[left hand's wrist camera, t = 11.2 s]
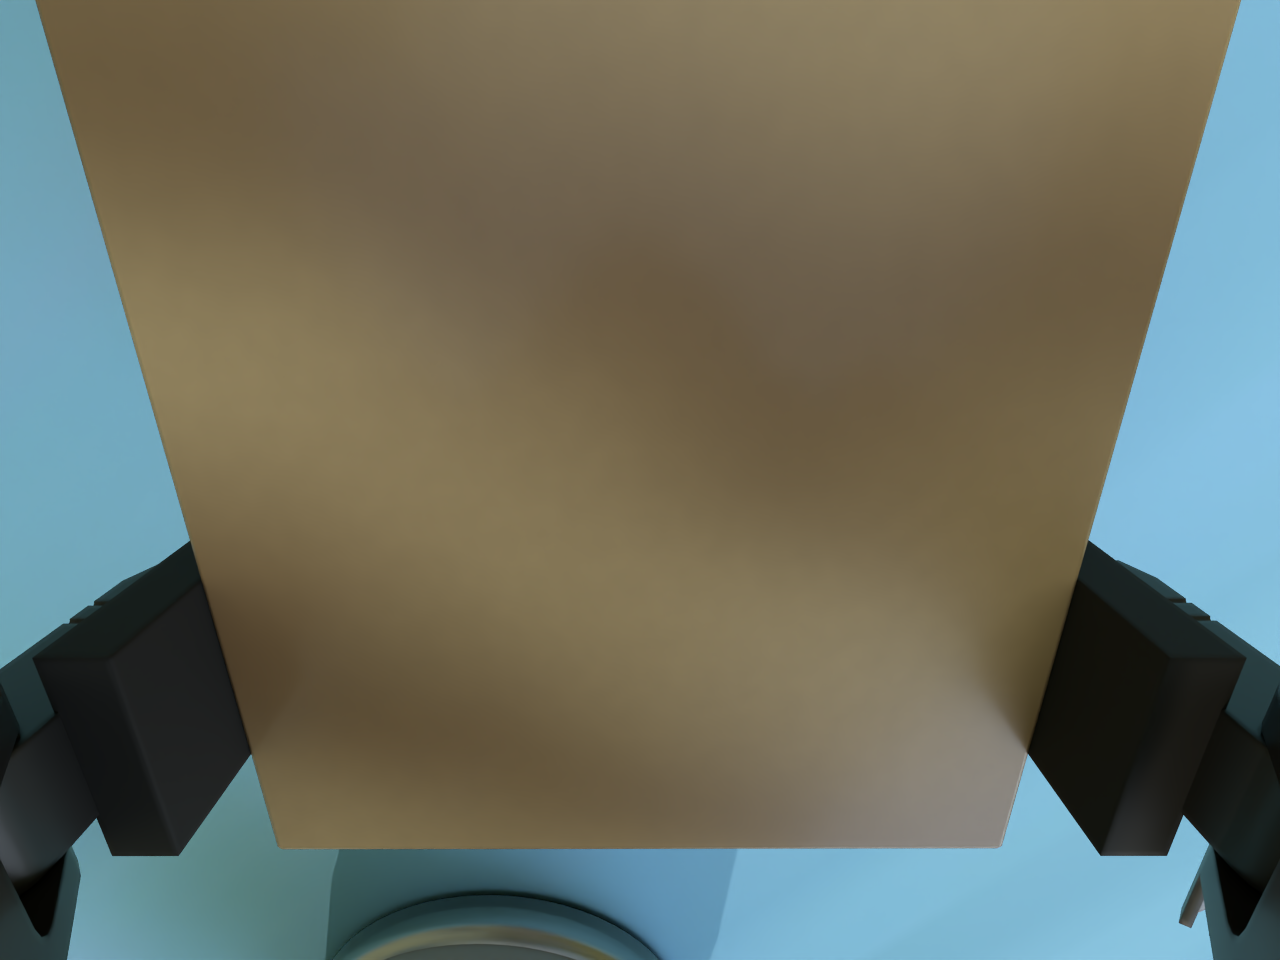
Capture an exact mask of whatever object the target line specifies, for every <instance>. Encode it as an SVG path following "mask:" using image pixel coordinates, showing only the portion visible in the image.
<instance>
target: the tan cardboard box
mask: <svg viewBox="0 0 1280 960" xmlns="http://www.w3.org/2000/svg"><path fill="white" fill-rule="evenodd" d="M1240 2H1241V0H36V4H37V7H38V11H39V14H40V18H41V21H42V25H43V28H44V32H45V35H46V39H47V42H48V46H49V49H50V53H51V56H52V60H53V63H54V67H55V70H56V74H57V77H58V81H59V84H60V88H61V91H62V95H63V98H64V102H65V105H66V109H67V112H68V116H69V119H70V123H71V126H72V130H73V133H74V137H75V140H76V144H77V147H78V151H79V154H80V158H81V161H82V165H83V168H84V172H85V175H86V178H87V182H88V185H89V189H90V192H91V196H92V199H93V203H94V206H95V210H96V213H97V217H98V220H99V224H100V227H101V231H102V234H103V238H104V241H105V245H106V248H107V252H108V255H109V259H110V262H111V266H112V269H113V273H114V276H115V280H116V283H117V287H118V290H119V294H120V297H121V301H122V304H123V308H124V311H125V315H126V318H127V322H128V325H129V329H130V332H131V336H132V339H133V343H134V346H135V350H136V353H137V357H138V360H139V364H140V367H141V371H142V374H143V377H144V381H145V384H146V388H147V391H148V395H149V398H150V402H151V405H152V409H153V412H154V416H155V419H156V423H157V426H158V430H159V433H160V437H161V440H162V444H163V447H164V451H165V454H166V458H167V461H168V465H169V468H170V472H171V475H172V479H173V482H174V486H175V489H176V493H177V496H178V500H179V503H180V507H181V510H182V514H183V517H184V521H185V524H186V528H187V531H188V535H189V538H190V542H191V545H192V549H193V552H194V556H195V559H196V563H197V566H198V570H199V573H200V576H201V580H202V583H203V587H204V590H205V594H206V597H207V601H208V604H209V608H210V611H211V615H212V618H213V622H214V625H215V629H216V632H217V636H218V639H219V643H220V646H221V650H222V653H223V657H224V660H225V664H226V667H227V671H228V674H229V678H230V681H231V685H232V688H233V692H234V695H235V699H236V702H237V706H238V709H239V713H240V716H241V720H242V723H243V727H244V730H245V734H246V737H247V741H248V744H249V748H250V751H251V755H252V758H253V762H254V765H255V769H256V772H257V775H258V779H259V782H260V786H261V789H262V793H263V796H264V800H265V803H266V807H267V810H268V814H269V817H270V821H271V824H272V828H273V831H274V835H275V838H276V842H277V845H278V847H279V848H281V849H771V848H999V847H1001V846H1002V843H1003V839H1004V836H1005V832H1006V829H1007V825H1008V822H1009V818H1010V815H1011V811H1012V808H1013V804H1014V801H1015V797H1016V793H1017V790H1018V786H1019V783H1020V779H1021V776H1022V772H1023V769H1024V765H1025V762H1026V758H1027V755H1028V751H1029V748H1030V744H1031V740H1032V737H1033V733H1034V730H1035V726H1036V723H1037V719H1038V716H1039V712H1040V709H1041V705H1042V702H1043V698H1044V695H1045V691H1046V687H1047V684H1048V680H1049V677H1050V673H1051V670H1052V666H1053V663H1054V659H1055V656H1056V652H1057V649H1058V645H1059V642H1060V638H1061V634H1062V631H1063V627H1064V624H1065V620H1066V617H1067V613H1068V610H1069V606H1070V603H1071V599H1072V596H1073V592H1074V589H1075V585H1076V581H1077V578H1078V574H1079V571H1080V567H1081V564H1082V560H1083V557H1084V553H1085V550H1086V546H1087V543H1088V539H1089V536H1090V532H1091V528H1092V525H1093V521H1094V518H1095V514H1096V511H1097V507H1098V504H1099V500H1100V497H1101V493H1102V490H1103V486H1104V483H1105V479H1106V475H1107V472H1108V468H1109V465H1110V461H1111V458H1112V454H1113V451H1114V447H1115V444H1116V440H1117V437H1118V433H1119V430H1120V426H1121V422H1122V419H1123V415H1124V412H1125V408H1126V405H1127V401H1128V398H1129V394H1130V391H1131V387H1132V384H1133V380H1134V377H1135V373H1136V369H1137V366H1138V362H1139V359H1140V355H1141V352H1142V348H1143V345H1144V341H1145V338H1146V334H1147V331H1148V327H1149V324H1150V320H1151V316H1152V313H1153V309H1154V306H1155V302H1156V299H1157V295H1158V292H1159V288H1160V285H1161V281H1162V278H1163V274H1164V271H1165V267H1166V263H1167V260H1168V256H1169V253H1170V249H1171V246H1172V242H1173V239H1174V235H1175V232H1176V228H1177V225H1178V221H1179V218H1180V214H1181V210H1182V207H1183V203H1184V200H1185V196H1186V193H1187V189H1188V186H1189V182H1190V179H1191V175H1192V172H1193V168H1194V165H1195V161H1196V157H1197V154H1198V150H1199V147H1200V143H1201V140H1202V136H1203V133H1204V129H1205V126H1206V122H1207V119H1208V115H1209V112H1210V108H1211V104H1212V101H1213V97H1214V94H1215V90H1216V87H1217V83H1218V80H1219V76H1220V73H1221V69H1222V66H1223V62H1224V59H1225V55H1226V51H1227V48H1228V44H1229V41H1230V37H1231V34H1232V30H1233V27H1234V23H1235V20H1236V16H1237V13H1238V9H1239V6H1240Z"/></svg>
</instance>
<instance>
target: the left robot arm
mask: <svg viewBox="0 0 1280 960" xmlns="http://www.w3.org/2000/svg"><path fill="white" fill-rule="evenodd" d="M1028 754H1029V756H1030V757H1031V758H1032V760H1033V761H1034V763H1035V764H1036V766H1037V767H1038V768H1039V770H1040V771H1041V773H1042V774H1043V775H1044V777H1045V778H1046V780H1047V781H1048V782H1049V784H1050V785H1051V787H1052V788H1053V789H1054V791H1055V792H1056V794H1057V795H1058V797H1059V798H1060V799H1061V801H1062V802H1063V804H1064V805H1065V806H1066V808H1067V809H1068V811H1069V812H1070V813H1071V815H1072V816H1073V818H1074V819H1075V820H1076V822H1077V823H1078V825H1079V826H1080V827H1081V829H1082V830H1083V832H1084V833H1085V835H1086V836H1087V837H1088V839H1089V840H1090V842H1091V843H1092V844H1093V846H1094V847H1095V849H1096V850H1097V851H1098V853H1099V854H1100V856H1167V854H1168V852H1169V849H1170V847H1171V844H1172V842H1173V839H1174V837H1175V834H1176V832H1177V829H1178V827H1179V825H1180V822H1181V820H1182V817H1183V815H1184V816H1185V817H1186V818H1187V819H1188V820H1189V821H1190V823H1191V824H1192V825H1193V826H1194V827H1195V828H1196V829H1197V830H1198V831H1199V833H1200V834H1201V835H1202V836H1203V837H1204V838H1205V839H1206V840H1207V842H1208V843H1209V846H1208V848H1207V851H1206V853H1205V855H1204V858H1203V860H1202V862H1201V865H1200V867H1199V869H1198V872H1197V874H1196V876H1195V878H1194V881H1193V883H1192V885H1191V888H1190V890H1189V892H1188V895H1187V897H1186V899H1185V902H1184V904H1183V906H1182V909H1181V914H1180V919H1179V923H1180V924H1183V925H1185V926H1187V927H1190V928H1191V927H1192V925H1193V923H1194V920H1195V918H1196V916H1197V914H1198V912H1201V911H1203V910H1205V911H1206V917H1207V923H1208V929H1209V936H1210V941H1211V947H1212V953H1213V959H1214V960H1280V666H1279V665H1278V664H1276V663H1275V662H1273V661H1272V660H1271V659H1269V658H1268V657H1266V656H1265V655H1264V654H1262V653H1261V652H1259V651H1258V650H1257V649H1255V648H1254V647H1252V646H1251V645H1250V644H1248V643H1247V642H1245V641H1244V640H1243V639H1241V638H1240V637H1238V636H1237V635H1236V634H1234V633H1233V632H1232V631H1230V630H1229V629H1227V628H1226V627H1225V626H1223V625H1222V624H1220V623H1219V622H1218V621H1211V620H1210V616H1209V615H1208V614H1206V613H1205V612H1204V611H1202V610H1201V609H1199V608H1198V607H1197V606H1195V605H1194V604H1192V603H1186V599H1185V598H1184V597H1183V596H1181V595H1180V594H1179V593H1177V592H1176V591H1174V590H1173V589H1172V588H1170V587H1169V586H1167V585H1166V584H1165V583H1163V582H1162V581H1160V580H1159V579H1158V578H1156V577H1154V576H1151V575H1149V574H1147V573H1145V572H1143V571H1140V570H1138V569H1136V568H1134V567H1132V566H1130V565H1127V564H1125V563H1123V562H1121V561H1119V560H1114V559H1113V558H1112V557H1110V556H1109V555H1108V554H1106V553H1105V552H1104V551H1102V550H1101V549H1100V548H1098V547H1097V546H1096V545H1094V544H1093V543H1091V542H1090V541H1089V540H1088V543H1087V546H1086V550H1085V553H1084V557H1083V560H1082V564H1081V567H1080V571H1079V574H1078V578H1077V581H1076V585H1075V589H1074V592H1073V596H1072V599H1071V603H1070V606H1069V610H1068V613H1067V617H1066V620H1065V624H1064V627H1063V631H1062V634H1061V638H1060V642H1059V645H1058V649H1057V652H1056V656H1055V659H1054V663H1053V666H1052V670H1051V673H1050V677H1049V680H1048V684H1047V687H1046V691H1045V695H1044V698H1043V702H1042V705H1041V709H1040V712H1039V716H1038V719H1037V723H1036V726H1035V730H1034V733H1033V737H1032V740H1031V744H1030V748H1029V751H1028ZM250 755H251V751H250V748H249V744H248V741H247V737H246V734H245V730H244V727H243V723H242V720H241V716H240V713H239V709H238V706H237V702H236V699H235V695H234V692H233V688H232V685H231V681H230V678H229V674H228V671H227V667H226V664H225V660H224V657H223V653H222V650H221V646H220V643H219V639H218V636H217V632H216V629H215V625H214V622H213V618H212V615H211V611H210V608H209V604H208V601H207V597H206V594H205V590H204V587H203V583H202V580H201V576H200V573H199V570H198V566H197V563H196V559H195V556H194V552H193V549H192V545H191V542H190V541H189V542H188V543H186V544H185V545H184V546H182V547H181V548H180V549H178V550H177V551H176V552H174V553H173V554H171V555H170V556H169V557H167V558H166V559H165V560H163V561H162V562H161V563H159V564H158V565H156V566H154V567H151V568H149V569H147V570H145V571H143V572H141V573H138V574H136V575H134V576H132V577H130V578H128V579H126V580H123V581H122V582H120V583H119V584H118V585H116V586H115V587H113V588H112V589H111V590H109V591H108V592H107V593H105V594H104V595H102V596H101V597H100V598H98V599H97V600H95V601H94V606H87V607H86V608H84V609H83V610H82V611H80V612H79V613H78V614H76V615H75V616H73V617H72V618H71V619H70V622H69V624H62V625H61V626H60V627H58V628H57V629H55V630H54V631H53V632H51V633H50V634H48V635H47V636H46V637H44V638H43V639H42V640H40V641H39V642H37V643H36V644H35V645H33V646H32V647H30V648H29V649H28V650H26V651H25V652H24V653H22V654H21V655H19V656H18V657H17V658H15V659H14V660H12V661H11V662H10V663H8V664H7V665H6V666H4V667H3V668H1V669H0V960H67V956H68V950H69V944H70V938H71V932H72V926H73V920H74V913H75V907H76V901H77V895H78V889H79V883H80V877H81V875H80V869H79V863H78V860H77V858H76V855H75V853H74V851H73V848H72V845H73V844H74V842H75V841H76V840H77V839H78V838H79V837H80V836H81V835H82V834H83V832H84V831H85V830H86V829H87V828H88V827H89V826H90V825H91V823H92V822H93V821H94V820H95V819H96V818H97V820H98V822H99V825H100V827H101V830H102V832H103V835H104V837H105V840H106V842H107V844H108V847H109V849H110V852H111V854H112V856H179V855H180V853H181V852H182V850H183V849H184V847H185V846H186V845H187V843H188V842H189V840H190V839H191V838H192V836H193V835H194V833H195V832H196V831H197V829H198V828H199V826H200V825H201V824H202V822H203V821H204V819H205V818H206V817H207V815H208V814H209V812H210V811H211V809H212V808H213V807H214V805H215V804H216V802H217V801H218V800H219V798H220V797H221V795H222V794H223V793H224V791H225V790H226V788H227V787H228V786H229V784H230V783H231V781H232V780H233V779H234V777H235V776H236V774H237V773H238V771H239V770H240V769H241V767H242V766H243V764H244V763H245V762H246V760H247V759H248V757H249V756H250ZM333 960H659V959H658V958H657V957H656V956H655V955H654V954H653V953H652V952H651V951H650V950H649V949H648V948H646V947H645V946H644V945H643V944H642V943H641V942H639V941H638V940H636V939H635V938H634V937H632V936H631V935H629V934H628V933H626V932H625V931H623V930H621V929H620V928H618V927H616V926H615V925H613V924H611V923H609V922H606V921H604V920H602V919H600V918H598V917H596V916H593V915H591V914H588V913H586V912H583V911H580V910H577V909H574V908H571V907H568V906H564V905H561V904H556V903H552V902H548V901H543V900H537V899H531V898H525V897H515V896H499V895H478V896H462V897H453V898H445V899H440V900H435V901H430V902H425V903H422V904H418V905H414V906H411V907H408V908H405V909H402V910H400V911H397V912H394V913H392V914H390V915H388V916H386V917H384V918H381V919H379V920H378V921H376V922H374V923H372V924H371V925H369V926H367V927H366V928H364V929H363V930H362V931H360V932H359V933H358V934H356V935H355V936H354V937H353V938H351V939H350V940H349V941H348V942H347V943H346V944H345V945H344V946H343V947H342V948H341V950H340V951H339V952H338V953H337V954H336V956H335V957H334V959H333Z"/></svg>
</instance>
